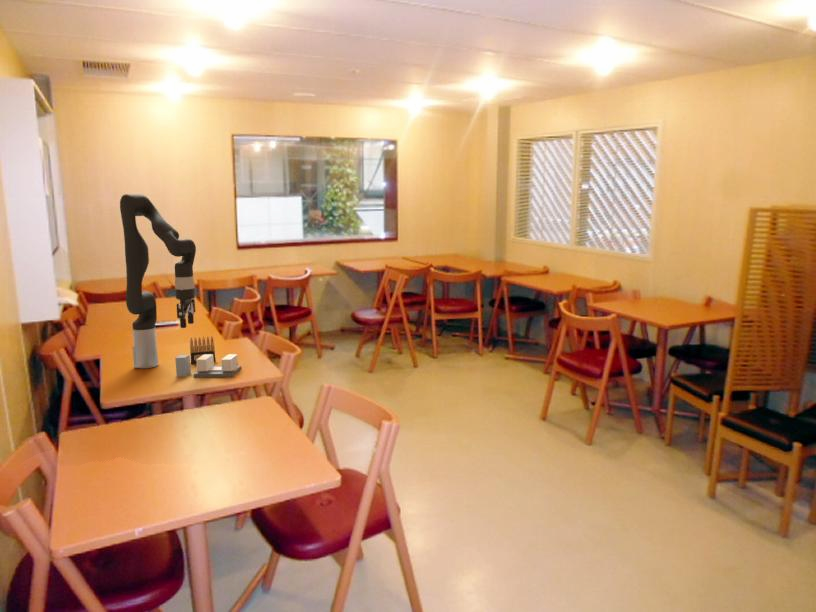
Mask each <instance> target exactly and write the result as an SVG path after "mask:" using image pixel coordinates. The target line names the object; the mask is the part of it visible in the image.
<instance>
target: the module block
mask: <svg viewBox="0 0 816 612" xmlns="http://www.w3.org/2000/svg"><path fill="white" fill-rule="evenodd" d="M175 371H176V372H175V373H176V377H187V376H189V375H190V374H191V373H192V372H191V355H190V354H179V355H177V356H176V357H175Z"/></svg>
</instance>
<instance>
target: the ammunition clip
mask: <svg viewBox="0 0 816 612" xmlns="http://www.w3.org/2000/svg"><path fill="white" fill-rule="evenodd" d="M214 342H215V341H214V337H213V335H211V337H209V336H207V337H206V338H205V336H203V337H202V340H201V337H200V336H199V337H198V340H197V337H194V341H193V338H192V337H190V340H189V352H190V354H189V355H190V365H197V363H196V359H198V358H199V357H201V356H202V355H204V354H213V358H214V363H216V362H217V361H216V350H215V343H214Z"/></svg>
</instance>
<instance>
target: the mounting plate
mask: <svg viewBox="0 0 816 612" xmlns="http://www.w3.org/2000/svg"><path fill="white" fill-rule="evenodd" d="M241 370H242V365H238V366H237V367H236V368H235V369H233V370H232V371H222V365H214V366H213V367H212V368H210V369H209V370H208V371H197V370H196V372H194V373H193V378H195V379H196V378H233V377H235V376H236V375H237V374H238V373H239V372H240V371H241Z"/></svg>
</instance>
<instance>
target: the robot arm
mask: <svg viewBox="0 0 816 612" xmlns="http://www.w3.org/2000/svg"><path fill="white" fill-rule="evenodd" d="M119 211H120V217H121V222H122V229H123V238H124V255H125V269H126V270H125V271H126V291H125V292H126V294H125V305H126V308H127V311H129V313H130V314H132V315H138V316H137V319H135V320H134V321H133V322H132V333H133V334H132V335H133V336H132V337H133V346H132V356H133V358H132V359H133V368H136V369H149V368H150V369H151V368H152V369H153V368H155V367H158V366H159V365H160V364H159V354H158V342H157V330H156V323H157V319H158V318H157V317H158V316H157V312H158V310H157V301H156V297H155V296H154V293H152V292H150V291H149V290H148V291H147V290H146V291H143V287H142V285H143V284H142V283H143V278H144V276H145V274H146V273H147V269H148V266H149V263H150V258H149V257H150V256H149V246H148V244H147V241H146V240H145V239H144V237H143V236H142V234H141V232H139V229H138V225H137V219H136V217H144V218H146V219H147V220H148V221H149V222H150V224H151V229H152V232H153V233H154V235H156V236H157V237H158V239H160V240H161V241H162V242H163V243H164V245H165V247H166V249H167V251H168V253H169V254H170V255H172V256H173V257H176V258H177V257H181V260H180V261H178V262H176V263H175V264H174V277H175V278H174V287H175V290H174V292H175V299H176V300H179V303H176V318H177V319H179V323H180V326H179V327H180V328H181V329H186V328H187V323H188V324H191V325H193V324H194V322H195V320H194V319H195V318H194V315H195V313H196V302H195V300H196V299H195V298H196V290H195V279H194V261H195V257H196V251H197V248H196V247H197V246H196V244H195V242H194V241H193V240H192V239H191V238H182V239H181V238H180V234H179V232H178V231H177V229H176V228H174V226H172V225H171V224H170V223H169V222H168V221H167V220H166V219H165V218H164V217H163V216H162V214H161V213H160V211H159V210H158V209H157V208H156V206H155V205H154V204H153V202H152V201H151V200H150V199H149V198H148V196H146V195H144V194H136V193H135V194H134V193H132V194H131V193H126V194H123V195H122V196H121V197H120V200H119Z"/></svg>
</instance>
